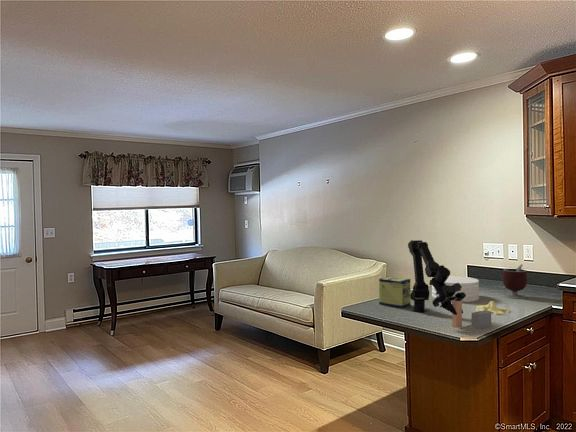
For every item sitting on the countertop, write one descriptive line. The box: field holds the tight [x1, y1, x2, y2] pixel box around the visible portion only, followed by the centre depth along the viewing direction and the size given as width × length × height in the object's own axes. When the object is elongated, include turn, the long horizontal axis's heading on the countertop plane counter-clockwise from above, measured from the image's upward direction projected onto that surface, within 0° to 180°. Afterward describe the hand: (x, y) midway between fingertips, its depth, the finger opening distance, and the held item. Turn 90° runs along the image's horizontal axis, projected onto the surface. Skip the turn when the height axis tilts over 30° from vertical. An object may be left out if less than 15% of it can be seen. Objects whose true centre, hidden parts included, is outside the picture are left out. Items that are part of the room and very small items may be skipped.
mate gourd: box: [502, 264, 528, 300], centre depth 278 cm, size 16×14×20 cm
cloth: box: [475, 300, 510, 316], centre depth 242 cm, size 22×19×6 cm
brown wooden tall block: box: [451, 301, 463, 328], centre depth 212 cm, size 2×4×12 cm, turn 120°
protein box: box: [378, 276, 412, 309], centre depth 260 cm, size 10×16×16 cm
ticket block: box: [457, 310, 492, 330], centre depth 210 cm, size 6×17×7 cm, turn 120°
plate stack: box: [431, 275, 480, 303], centre depth 280 cm, size 28×28×12 cm
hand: (459, 313), depth 210 cm, fingers closed on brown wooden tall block, 4 cm apart
